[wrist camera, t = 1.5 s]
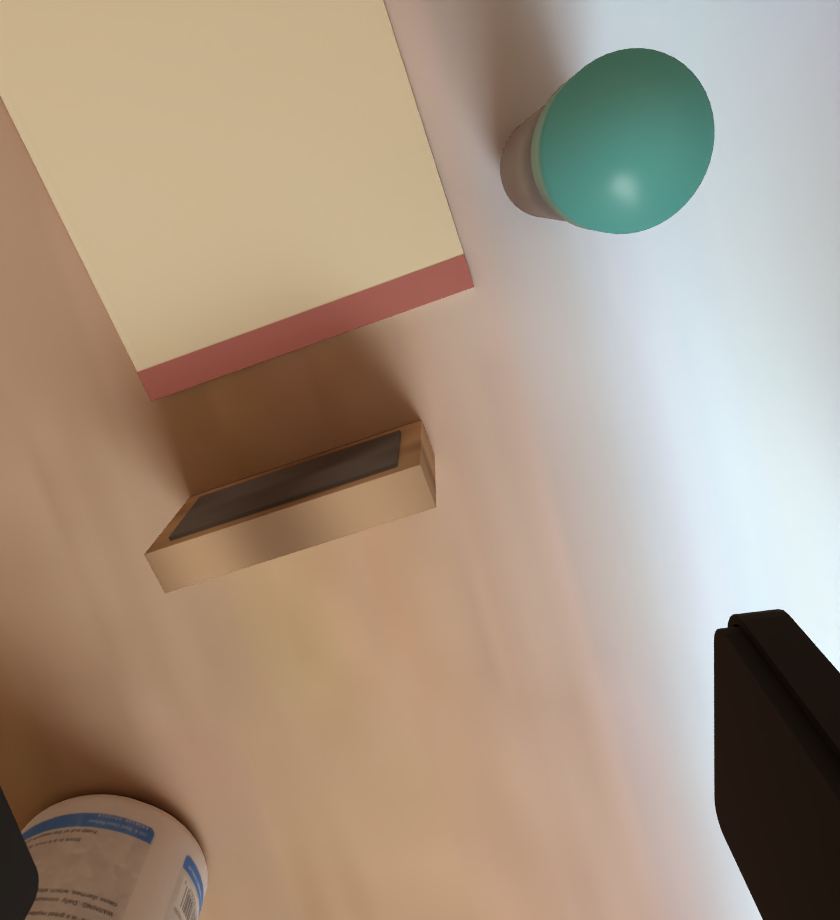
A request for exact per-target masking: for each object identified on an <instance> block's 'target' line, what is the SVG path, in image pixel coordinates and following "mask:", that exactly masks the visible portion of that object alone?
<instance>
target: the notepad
mask: <svg viewBox="0 0 840 920" xmlns="http://www.w3.org/2000/svg"><path fill="white" fill-rule="evenodd" d="M0 96H1V98H2V100H3V102H4V104H5V106H6V108H7V110H8V112H9V114H10V116H11V118H12V120H13V122H14V124H15V126H16V128H17V130H18V132H19V134H20V136H21V138H22V140H23V142H24V144H25V146H26V148H27V150H28V152H29V154H30V156H31V158H32V160H33V162H34V164H35V166H36V168H37V170H38V172H39V174H40V176H41V178H42V180H43V182H44V184H45V187H46V189H47V191H48V193H49V195H50V197H51V199H52V201H53V203H54V205H55V207H56V209H57V211H58V213H59V215H60V217H61V219H62V221H63V223H64V225H65V227H66V229H67V231H68V233H69V235H70V237H71V239H72V241H73V243H74V245H75V247H76V249H77V251H78V253H79V255H80V257H81V259H82V261H83V263H84V265H85V267H86V269H87V271H88V273H89V275H90V277H91V279H92V281H93V283H94V285H95V287H96V290H97V292H98V294H99V296H100V298H101V300H102V302H103V304H104V306H105V308H106V310H107V312H108V314H109V316H110V318H111V320H112V322H113V324H114V326H115V328H116V330H117V332H118V334H119V336H120V338H121V340H122V342H123V344H124V346H125V348H126V350H127V352H128V354H129V356H130V358H131V360H132V362H133V364H134V366H135V368H136V370H137V373H138V375H139V377H140V379H141V381H142V383H143V385H144V387H145V389H146V391H147V393H148V395H149V397H150V399H151V401H154V400H157V399H159V398H162V397H165V396H168V395H171V394H173V393H176V392H179V391H182V390H185V389H188V388H190V387H193V386H196V385H199V384H202V383H204V382H207V381H210V380H213V379H216V378H219V377H221V376H224V375H227V374H230V373H233V372H235V371H238V370H241V369H244V368H247V367H250V366H252V365H255V364H258V363H261V362H264V361H266V360H269V359H272V358H275V357H278V356H281V355H283V354H286V353H289V352H292V351H295V350H298V349H300V348H303V347H306V346H309V345H312V344H314V343H317V342H320V341H323V340H326V339H329V338H331V337H334V336H337V335H340V334H343V333H345V332H348V331H351V330H354V329H357V328H360V327H362V326H365V325H368V324H371V323H374V322H376V321H379V320H382V319H385V318H388V317H391V316H393V315H396V314H399V313H402V312H405V311H407V310H410V309H413V308H416V307H419V306H422V305H424V304H427V303H430V302H433V301H436V300H439V299H441V298H444V297H447V296H450V295H453V294H455V293H458V292H461V291H464V290H467V289H470V288H472V287H474V285H473V281H472V278H471V275H470V272H469V269H468V266H467V263H466V259H465V256H464V253H463V250H462V247H461V244H460V241H459V237H458V234H457V231H456V228H455V225H454V222H453V219H452V215H451V212H450V209H449V206H448V203H447V200H446V197H445V193H444V190H443V187H442V184H441V181H440V178H439V175H438V171H437V168H436V165H435V162H434V159H433V156H432V153H431V149H430V146H429V143H428V140H427V137H426V134H425V131H424V127H423V124H422V121H421V118H420V115H419V112H418V109H417V105H416V102H415V99H414V96H413V93H412V90H411V87H410V83H409V80H408V77H407V74H406V71H405V68H404V65H403V61H402V58H401V55H400V52H399V49H398V46H397V43H396V39H395V36H394V33H393V30H392V27H391V24H390V21H389V17H388V14H387V11H386V8H385V5H384V2H383V0H0Z"/></svg>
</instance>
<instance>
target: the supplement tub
mask: <svg viewBox="0 0 840 920" xmlns="http://www.w3.org/2000/svg"><path fill="white" fill-rule="evenodd" d="M21 834H22V836H23V838H24V841H25V843H26V845H27V847H28V850H29V852H30V854H31V856H32V859H33V861H34V863H35V865H36V868H37V871H38V875H39V885H38V892H37V895H36V899H35V901H34V903H33V906H32V907H31V909H30V911H29V913H28V915H27V916H26V918H25V920H198V917H199V914H200V910H201V906H202V903H203V900H204V897H205V894H206V890H207V884H208V873H207V865H206V861H205V858H204V855H203V852H202V850H201V848H200V846H199V844H198V843H197V841H196V840H195V838H194V837H193V836H192V834H191V833H190V832H189V831H188V830H187V828H186V827H185V826H184V825H182V824H181V823H180V822H179V821H178V820H176V819H175V818H174V817H172V816H171V815H169V814H168V813H166V812H164V811H163V810H161V809H159V808H156V807H154V806H152V805H149V804H146V803H143V802H140V801H138V800H135V799H131V798H128V797H123V796H117V795H107V794H96V795H85V796H79V797H74V798H71V799H67V800H64V801H62V802H59V803H57V804H54V805H52V806H50V807H48V808H47V809H45V810H43V811H42V812H41V813H39V814H38V815H37V816H35V817H34V818H33V819H32V820H31V821H30V822H29V823H28V824H27V825H26V826H25V827H24V829H23V830H22V831H21Z"/></svg>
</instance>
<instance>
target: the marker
mask: <svg viewBox="0 0 840 920" xmlns="http://www.w3.org/2000/svg"><path fill="white" fill-rule="evenodd" d="M713 144H714V120H713V113H712V109H711V105H710V101H709V99H708V97H707V94H706V92H705V90H704V88H703V86H702V85H701V83H700V81H699V80H698V79H697V77H696V76H695V75H694V74H693V72H692V71H691V70H689V69H688V68H687V67H686V66H685V65H684V64H683V63H681V62H680V61H678V60H677V59H675V58H674V57H672V56H669V55H667V54H665V53H662V52H659V51H656V50H651V49H644V48H630V49H624V50H618V51H615V52H612V53H609V54H606V55H604V56H602V57H600V58H597V59H596V60H594V61H592V62H591V63H589V64H588V65H586V66H585V67H584V68H582V69H581V70H580V71H579V72H578V73H576V74H575V75H574V76H573V77H572V78H571V79H569V80H568V81H567V82H566V83H565V84H563V85H562V86H561V87H560V88H559V89H558V90H557V91H556V92H555V93H554V94H553V95H552V97H551V98H550V99H549V101H548V102H547V104H546V105H545V106H543V107H542V108H541V109H540V110H538V111H537V112H536V113H535V114H533V115H532V116H531V117H530V118H528V119H527V120H526V121H525V122H523V123H522V124H521V125H520V126H519V127H518V128H517V129H516V130H515V131H514V132H513V133H512V134H511V136H510V137H509V139H508V141H507V142H506V144H505V147H504V149H503V153H502V156H501V162H500V174H501V181H502V185H503V187H504V190H505V192H506V194H507V196H508V197H509V199H510V200H511V201H512V202H513V204H514V205H515V206H517V207H518V208H519V209H520V210H522V211H523V212H525V213H527V214H530V215H533V216H536V217H542V218H549V219H555V220H561V221H567V222H569V223H571V224H573V225H575V226H578V227H581V228H585V229H589V230H594V231H600V232H605V233H613V234H628V233H635V232H639V231H643V230H646V229H649V228H652V227H654V226H656V225H658V224H660V223H662V222H664V221H665V220H667V219H669V218H670V217H671V216H673V215H674V214H675V213H677V212H678V211H679V210H680V209H681V208H682V207H683V206H684V205H685V204H686V203H687V202H688V201H689V199H690V198H691V197H692V196H693V195H694V193H695V192H696V190H697V188H698V187H699V185H700V184H701V182H702V180H703V178H704V176H705V174H706V171H707V168H708V166H709V163H710V159H711V155H712V151H713Z"/></svg>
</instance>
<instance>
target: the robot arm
mask: <svg viewBox="0 0 840 920" xmlns="http://www.w3.org/2000/svg"><path fill="white" fill-rule="evenodd" d="M714 786H715V808H716V813H717V817H718V821H719V824H720V828H721V830H722V833H723V835H724V837H725V840H726V842H727V844H728V846H729V848H730V850H731V852H732V854H733V857H734V859H735V861H736V863H737V865H738V867H739V869H740V872H741V874H742V876H743V878H744V880H745V882H746V884H747V887H748V889H749V891H750V893H751V895H752V897H753V899H754V902H755V904H756V906H757V908H758V910H759V912H760V914H761V916H762V919H763V920H840V673H839V672H838V670H837V669H836V668H835V667H834V666H833V665H832V664H831V662H830V661H829V660H828V659H827V658H826V657H825V656H824V654H823V653H822V652H821V651H820V650H819V649H818V648H817V646H816V645H815V644H814V643H813V642H812V641H811V640H810V638H809V637H808V636H807V635H806V634H805V633H804V631H803V630H802V629H801V628H800V627H799V626H798V625H797V623H796V622H795V621H794V620H793V619H792V618H791V617H790V615H789V614H787V613H786V612H785V611H784V610H780V609H776V610H767V611H759V612H750V613H742V614H733V615H732V616H731V617H730V619H729V621H728V628H721V629H717V630H716V632H715V635H714ZM38 885H39V875H38V871H37V868H36V865H35V863H34V861H33V859H32V856H31V854H30V852H29V850H28V847H27V845H26V843H25V841H24V838H23V836H22V834H21V832H20V829H19V827H18V825H17V823H16V820H15V818H14V816H13V814H12V811H11V809H10V807H9V805H8V802H7V800H6V798H5V796H4V793H3V791H2V789H1V787H0V920H25V918H26V916H27V915H28V913H29V911H30V909H31V907H32V906H33V903H34V901H35V899H36V895H37V892H38Z"/></svg>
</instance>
